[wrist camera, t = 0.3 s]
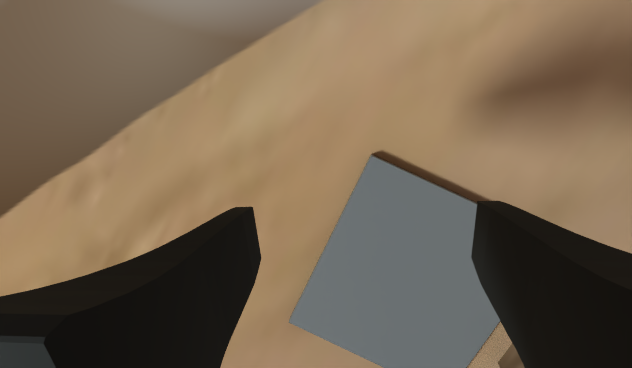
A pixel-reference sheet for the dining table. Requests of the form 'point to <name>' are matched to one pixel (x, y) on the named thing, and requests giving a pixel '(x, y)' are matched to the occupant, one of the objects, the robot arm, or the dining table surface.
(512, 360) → the walnut brick
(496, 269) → the robot arm
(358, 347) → the grey flat square slab
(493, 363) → the dining table surface
